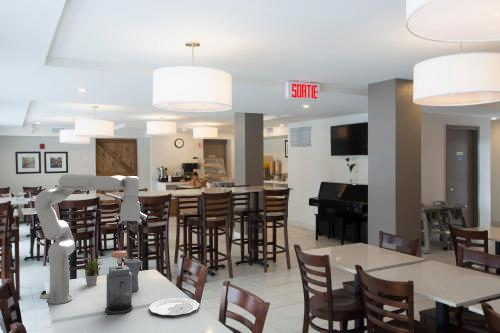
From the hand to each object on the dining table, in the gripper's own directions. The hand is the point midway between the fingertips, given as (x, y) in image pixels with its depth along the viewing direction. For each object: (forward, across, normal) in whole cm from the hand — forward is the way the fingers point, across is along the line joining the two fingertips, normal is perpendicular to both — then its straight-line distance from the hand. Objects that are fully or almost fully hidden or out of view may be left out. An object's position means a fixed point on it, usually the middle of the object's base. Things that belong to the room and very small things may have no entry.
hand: (130, 231), depth 223 cm
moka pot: (+37, -4, +16) cm, 41 cm away
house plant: (+38, -30, +25) cm, 54 cm away
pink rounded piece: (+14, -1, -15) cm, 20 cm away
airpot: (+37, -1, -15) cm, 40 cm away
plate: (+37, +26, -12) cm, 47 cm away
